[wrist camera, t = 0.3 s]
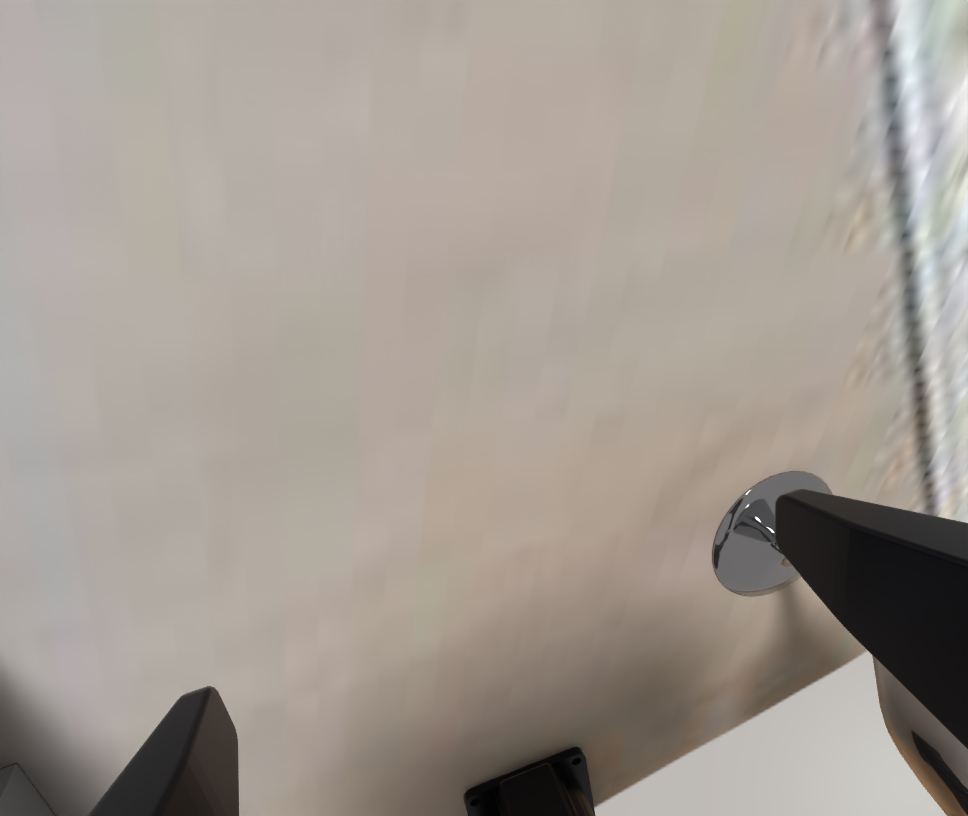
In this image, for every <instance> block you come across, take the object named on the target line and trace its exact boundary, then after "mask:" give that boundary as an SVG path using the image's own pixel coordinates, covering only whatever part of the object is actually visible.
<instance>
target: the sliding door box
mask: <svg viewBox="0 0 968 816" xmlns="http://www.w3.org/2000/svg"><path fill="white" fill-rule="evenodd" d="M0 816H55V815H54V814H53V812H52V811H51V810H50V808H49V807H48V805H47V804H46V803H45V801H44V800H43V799H42V797H41V796H40V795H39V793H38V792H37V790H36V789H35V788H34V786H33V785H32V784H31V782H30V781H29V780H28V778H27V777H26V775H25V774H24V773H23V771H22V770H21V769H20V767H19V766H18V765H17V764H14V765H11V766H8V767H5V768H2V769H0Z"/></svg>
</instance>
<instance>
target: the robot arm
mask: <svg viewBox="0 0 968 816" xmlns="http://www.w3.org/2000/svg"><path fill="white" fill-rule="evenodd" d="M775 540H776V543H777V546H778V548H779V549H780V551H781V552H782V554H783V555H784V556H785V557H786V559H787V560H788V561H789V562H790V563H791V565H792V566H793V567H794V568H795V569H796V570H797V572H798V573H799V574H800V575H801V576H802V578H803V579H804V580H805V581H806V582H807V584H808V585H809V586H810V587H811V588H812V590H813V591H814V592H815V593H816V594H817V596H818V597H819V598H820V599H821V600H822V602H823V603H824V604H825V605H826V606H827V608H828V609H829V610H830V611H831V612H832V613H833V615H834V616H835V617H836V618H837V619H838V620H839V621H840V622H841V624H842V625H843V626H844V627H845V628H846V629H847V630H848V631H849V632H850V633H851V634H852V635H853V636H854V637H855V638H856V639H857V640H858V641H859V642H860V643H861V644H862V645H863V646H864V647H865V648H866V649H867V650H868V651H869V652H870V653H871V654H872V655H873V656H874V657H875V658H876V659H877V660H878V661H879V662H880V663H881V664H882V665H883V666H884V667H885V668H886V669H887V670H888V671H889V672H890V673H891V674H892V675H893V676H894V677H895V678H896V679H897V680H898V681H899V682H900V683H901V684H902V685H903V686H904V687H905V688H906V689H907V690H908V691H909V692H910V693H911V694H912V695H913V696H914V697H915V698H916V699H917V700H918V701H919V702H920V703H921V704H922V705H923V706H924V707H925V708H926V709H927V710H928V711H929V712H930V713H931V714H932V715H933V716H934V717H935V718H936V719H937V720H938V721H939V722H940V723H941V724H942V725H943V726H945V727H946V728H947V729H948V730H949V731H950V732H951V733H952V734H953V735H954V736H955V737H956V738H957V739H958V740H959V741H960V742H961V743H962V744H963V745H964V746H965V747H966V748H967V749H968V523H965V522H960V521H955V520H950V519H945V518H941V517H936V516H931V515H926V514H921V513H917V512H912V511H907V510H902V509H897V508H893V507H888V506H883V505H878V504H873V503H869V502H864V501H859V500H854V499H850V498H845V497H840V496H835V495H830V494H826V493H821V492H816V491H811V490H806V489H797V490H793V491H791V492H788V493H785V494H782V495H780V496H779V497H778V498H777V499H776V502H775ZM464 802H465V806H466V809H467V813H468V816H595V811H594V805H593V799H592V794H591V788H590V782H589V776H588V770H587V764H586V758H585V756H584V754H583V752H582V750H581V749H580V748H578V747H575V748H572V749H569V750H567V751H564V752H562V753H559V754H557V755H554V756H552V757H549V758H547V759H544V760H542V761H539V762H537V763H534V764H532V765H529V766H527V767H524V768H522V769H519V770H517V771H514V772H512V773H509V774H507V775H504V776H502V777H499V778H497V779H494V780H492V781H489V782H487V783H484V784H482V785H479V786H477V787H474V788H472V789H470V790H468V791H467V792H466V793H465V795H464ZM88 816H239V781H238V739H237V733H236V729H235V726H234V724H233V722H232V720H231V718H230V716H229V714H228V711H227V709H226V707H225V705H224V703H223V701H222V699H221V697H220V695H219V693H218V691H217V690H216V689H215V688H214V687H211V686H207V687H204V688H201V689H198V690H195V691H192V692H189V693H187V694H185V695H183V696H181V697H180V698H179V699H178V700H177V702H176V703H175V704H174V705H173V707H172V708H171V709H170V711H169V712H168V713H167V714H166V716H165V717H164V718H163V720H162V721H161V722H160V724H159V725H158V726H157V727H156V729H155V730H154V731H153V733H152V734H151V735H150V736H149V738H148V739H147V740H146V742H145V743H144V744H143V745H142V747H141V748H140V749H139V751H138V752H137V753H136V754H135V756H134V757H133V758H132V760H131V761H130V762H129V763H128V765H127V766H126V767H125V769H124V770H123V771H122V773H121V774H120V775H119V776H118V778H117V779H116V780H115V782H114V783H113V784H112V785H111V787H110V788H109V789H108V791H107V792H106V793H105V794H104V796H103V797H102V798H101V800H100V801H99V802H98V803H97V805H96V806H95V807H94V809H93V810H92V811H91V812H90V814H89V815H88Z"/></svg>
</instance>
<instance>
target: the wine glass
mask: <svg viewBox="0 0 968 816" xmlns="http://www.w3.org/2000/svg"><path fill="white" fill-rule="evenodd" d="M797 489H806V490H811V491H816V492H821V493H826V494H830V495H833V494H832V492H831V490H830V489H829V487H828V485H827V484H826V483H825V482H824V481H823V480H822V479H821V478H819V477H817V476H815V475H813V474H811V473H807V472H800V471H791V472H785V473H780V474H777V475H774V476H771V477H769V478H767V479H765V480H763V481H761V482H759V483H758V484H756V485H755V486H753V487H752V488H750V489H749V490H748V491H747V492H746V493H745V494H743V495H742V496H741V497H740V498H739V499H738V500H737V501H736V502H735V504H734V505H733V506H732V507H731V508H730V510H729V511H728V513H727V514H726V516H725V517H724V519H723V521H722V523H721V525H720V527H719V529H718V531H717V534H716V537H715V540H714V546H713V552H712V555H713V566H714V570H715V573H716V575H717V577H718V579H719V580H720V582H721V583H722V584H723V585H724V586H725V587H726V588H728V589H729V590H731V591H732V592H735V593H738V594H740V595H747V596H760V595H765V594H770V593H773V592H775V591H778V590H781V589H782V588H784V587H786V586H788V585H790V584H791V583H793V582H794V581H796V580H797V579H799V578H800V577H801V575H800V574H799V573H798V572H797V570H796V569H795V568H794V567H793V566H792V565H791V563H790V562H789V561H788V560H787V559H786V557H785V556H784V555H783V554H782V552H781V551H780V549H779V548H778V546H777V543H776V540H775V502H776V499H777V498H778V497H779V496H780V495H782V494H785V493H788V492H791V491H793V490H797ZM872 656H873V655H872ZM873 663H874V669H875V676H876V682H877V689H878V696H879V703H880V707H881V711H882V714H883V718H884V721H885V725H886V727H887V730H888V733H889V734H890V736H891V738H892V740H893V742H894V743H895V745H896V747H897V749H898V750H899V752H900V754H901V755H902V757H903V758H904V760H905V761H906V762H907V764H908V765H909V767H910V768H911V770H912V771H913V772H914V774H915V775H916V777H917V778H918V780H919V781H920V782H921V784H922V785H923V786H924V787H925V789H926V790H927V791H928V792H929V794H930V795H931V796H932V797H933V799H934V800H935V801H936V802H937V804H938V805H939V806H940V807H941V808H942V810H943V811H944V812H945V814H946V815H947V816H968V749H967V748H966V747H965V746H964V745H963V744H962V743H961V742H960V741H959V740H958V739H957V738H956V737H955V736H954V735H953V734H952V733H951V732H950V731H949V730H948V729H947V728H946V727H945V726H943V725H942V724H941V723H940V722H939V721H938V720H937V719H936V718H935V717H934V716H933V715H932V714H931V713H930V712H929V711H928V710H927V709H926V708H925V707H924V706H923V705H922V704H921V703H920V702H919V701H918V700H917V699H916V698H915V697H914V696H913V695H912V694H911V693H910V692H909V691H908V690H907V689H906V688H905V687H904V686H903V685H902V684H901V683H900V682H899V681H898V680H897V679H896V678H895V677H894V676H893V675H892V674H891V673H890V672H889V671H888V670H887V669H886V668H885V667H884V666H883V665H882V664H881V663H880V662H879V661H878V660H877V659H876V658H875V657H874V656H873Z"/></svg>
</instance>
